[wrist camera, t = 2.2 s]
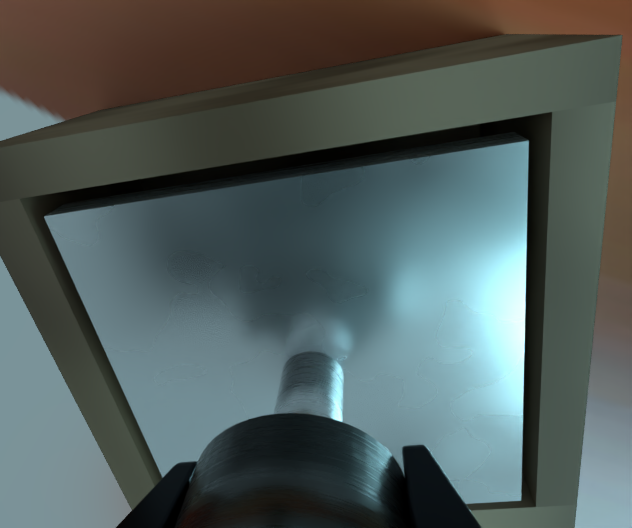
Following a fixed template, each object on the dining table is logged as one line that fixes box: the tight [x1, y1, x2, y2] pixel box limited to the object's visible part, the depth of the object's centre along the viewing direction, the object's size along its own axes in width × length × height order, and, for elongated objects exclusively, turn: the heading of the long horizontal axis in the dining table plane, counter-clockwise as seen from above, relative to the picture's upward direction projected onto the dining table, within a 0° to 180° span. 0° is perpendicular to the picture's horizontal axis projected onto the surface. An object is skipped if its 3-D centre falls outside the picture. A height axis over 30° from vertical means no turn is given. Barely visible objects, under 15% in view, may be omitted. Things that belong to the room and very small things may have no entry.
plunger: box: [44, 132, 529, 528], centre depth 8 cm, size 9×9×7 cm
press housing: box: [0, 34, 622, 528], centre depth 13 cm, size 12×12×6 cm
